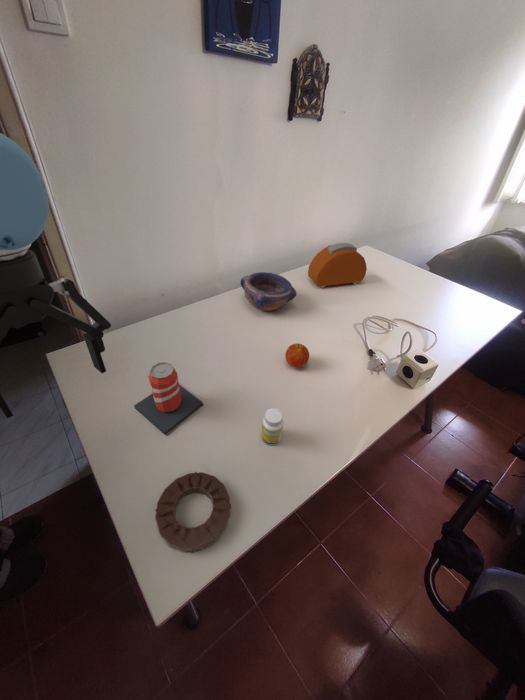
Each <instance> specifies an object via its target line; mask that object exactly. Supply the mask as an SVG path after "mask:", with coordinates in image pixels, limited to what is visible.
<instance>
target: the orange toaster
mask: <svg viewBox="0 0 525 700" xmlns="http://www.w3.org/2000/svg"><path fill="white" fill-rule="evenodd" d="M357 250H358V247H356V246H354V244H351V243H347V242H338V243H335V244H331V245H328V246H325V248H322V249H321V250H319V252H317V253H316V254H315V255H314V257H312V259H311V261H310V264H309V265H308V269H307V276H308V277H309V279H310V280H311V281H312V282H313V283H314V284H315V285H316V286H317V287H319V288H321V289H325V287H329V286H337V285H344V284H345V285H346V284H352V285H356V284H357V283H360V282H361V281H363V280H364V278H365V277H366V275H367V269H368V268H367V263H366V262H367V261H366V259H365V257H364V256H363V255H362V254H360V253H359V252H358V251H357Z"/></svg>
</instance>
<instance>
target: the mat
mask: <svg viewBox="0 0 525 700" xmlns="http://www.w3.org/2000/svg"><path fill="white" fill-rule="evenodd" d="M179 387H180V393H181V399H182V401H181V404H180V407H178V408H177V409H175V410H174V411H171V412H162V411H160V410H158V409H157V407H156V404H155V401H154V397H153V393H151V394H149V395H148V396H146V397H145V398H143V399H142V400H140V401H139V402H137V403H136V404H134V405H133V407H134V410H136V411H138V413H140V414H141V416H143V417H144V418H145V419H146V420H147V421H149V422H150V424H152V425H153V426H154V427H155V428H156V429H157V430H159V431H160V432H161V433H162V434H163V435H165V436H166V435H167V434H169V433H170V432H171V431H173V429H175V428H176V427H177V426H179V425H180V424H181V423H182V422H184V421H185V420H187V419H188V418H189V417H190V416H191V415H193V414H195V413H196V411H198V410H199V409H200V408H202V407H203V406H204V402H203V401H202V400H200V399H199V398H197V396H195V395H194V394H192V393H191V392H190V391H188V390H187V389H185V388H184V387H183V386H181V385H180V384H179Z"/></svg>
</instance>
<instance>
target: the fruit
mask: <svg viewBox="0 0 525 700" xmlns="http://www.w3.org/2000/svg"><path fill="white" fill-rule="evenodd" d="M284 355H285V356H284V357H285V361H286V363H287V364H288V365H289V366H290V367H293V368H303V367H305V366H306V365H307V363H308V362H309V359H310V352H309V349H308V347H307V346H306V345H304V344H302V343H298V342H297V343H293V344H290V345H289V346H288V347H287V349H286V351H285V354H284Z"/></svg>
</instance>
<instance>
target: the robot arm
mask: <svg viewBox="0 0 525 700" xmlns="http://www.w3.org/2000/svg"><path fill="white" fill-rule="evenodd" d="M49 213H50V200H49V194H48V191H47V188H46V184H45V182H44V180H43V177H42V174H41V171H40V169H39V168H38V166H37V165H36V163H35V162H34V161H33V159H32V158H31V157H30V155H28V153H27V152H26V151H25V150H24V149H23V148H22V147H21V146H20V145H19V144H18V143H17V142H15V141H14V140H13V139H11V138H10V137H8V136H6V135H4V133H1V132H0V344H1V343H2V341H3V339H4V338H5V337H6V336H7V334H8V333H9V330H10V328H14V329H20V328H23V327H25V326H27V325H29V324H34V323H39V322H42V321H43V319H44V318H45V317H47V316H49V317H51V318H54V319H56V320H58V321H61V322H62V323H65V324H67V325H69V326H72V327H73V328H76V329H78V330H80V331H82V332H84V334H82V336H83V339H84V342H85V345H86V348H87V350H88V353H89V356H90V358H91V361H92V364H93V367H94V368H95V369H96V370H97V371H98V372H99V373H101V374H104V373H106V372H107V370H106V366H105V363H104V360H103V357H102V354H101V353H104V352H105V351H106V347H105V343H104V340H103V337H104V335H105V334H104V331H106V330H109V329H110V328H111V327H112V323H111V322H110V321H109V320H107V319H106V318H105V316H103V315H102V314H101V313H100V312H99V311H98V310H97V309H96V307H94V306H93V305H92V304H91V303H90V302H89V301H88V300H87V299H86V298H84V297H83V296H82V295H81V294H80V293H79V290H78V289H77V286H76V284H75V283H74V281H73V280H71V279H70V278H68V277H66V276H65V275H60V276H58V278H57V280H55V281H53V282H50V283H48V282H47V280H46V278H45V275H44V273H43V270H42V268H41V265H40V263H39V260H38V258H37V255H36V253H35V252H34V251H33V250H32V249H30V248H31V246H32V244H33V243H34V242H35V241H36V240H37V239H39V237H40V235H41V234H42V233H43V231H44V230H45V228H46V226H47V223H48V220H49ZM55 293H58V294H60V295H61V296H65V297H67V298H68V299H69V300H70V301H72V302H73V303H74V304H75V306H77V307H78V308H79V309H81V310H82V311H83V312H84V313H85V314H86V315H87V316H88V317H89V318H90V319H91V320H92V321H94V323H92V324H90V323H89V322H87V321H85V320H83V319H81V318H79V317H77V316H76V315H73V314H71V313H69V312H67V311H65V310H63V309H61V308H59V307H57V306H55V305H53V304H51V303H52V302H53V298H54V295H55ZM0 410H1V412H2V413H3V415H4V416H5V418H6V419H9V418H12V417H14V414H13V412H12V411H11V409H10V407H9V405H8V404H7V402H6V400H5V399H4V397H3V395H2V394H1V393H0Z"/></svg>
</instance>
